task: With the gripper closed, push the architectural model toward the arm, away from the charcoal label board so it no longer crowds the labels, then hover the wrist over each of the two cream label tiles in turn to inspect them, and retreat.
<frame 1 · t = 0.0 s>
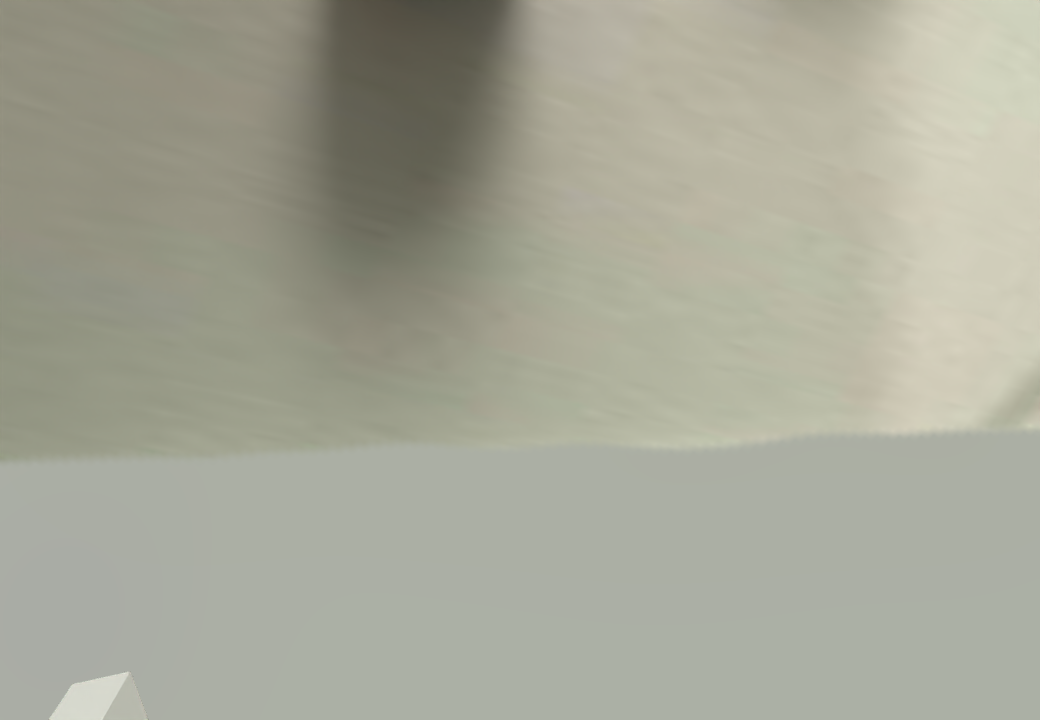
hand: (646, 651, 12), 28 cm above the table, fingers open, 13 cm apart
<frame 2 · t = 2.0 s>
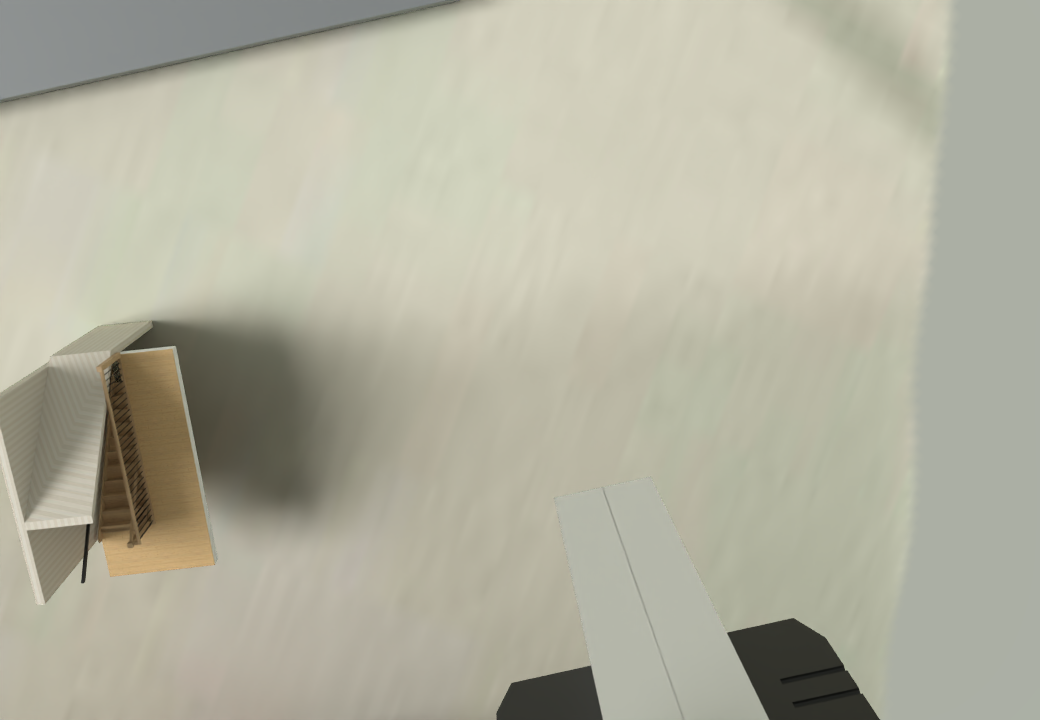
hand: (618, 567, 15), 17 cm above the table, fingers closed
architectural model: (146, 404, 31), on the table
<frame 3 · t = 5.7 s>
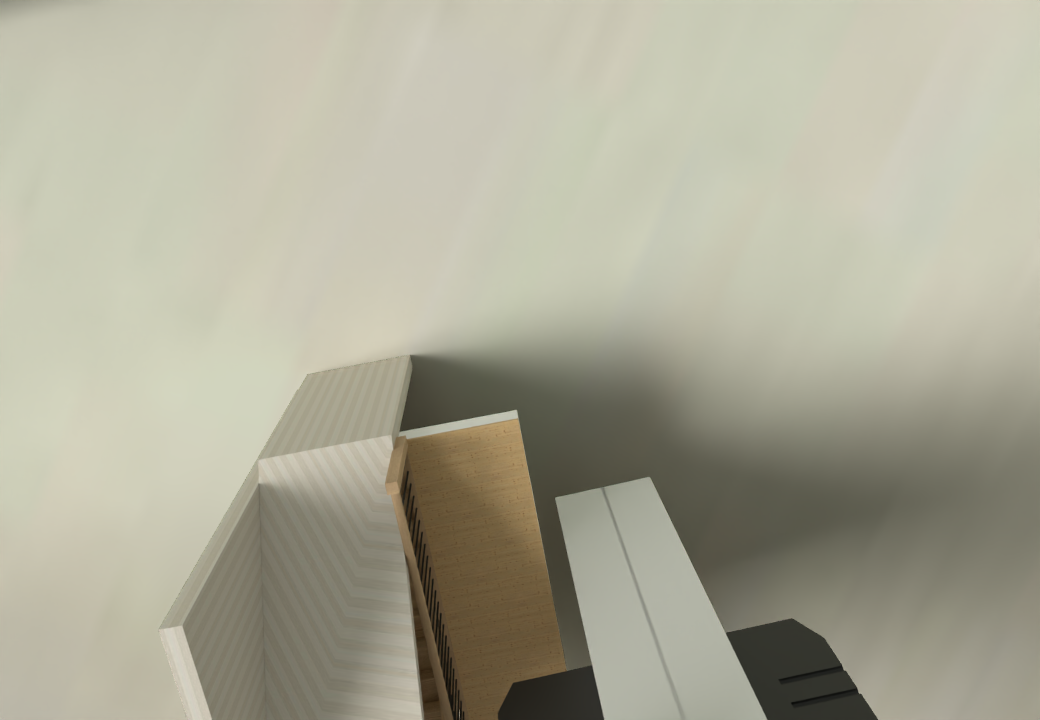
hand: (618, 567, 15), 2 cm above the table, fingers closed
architectural model: (396, 511, 17), on the table
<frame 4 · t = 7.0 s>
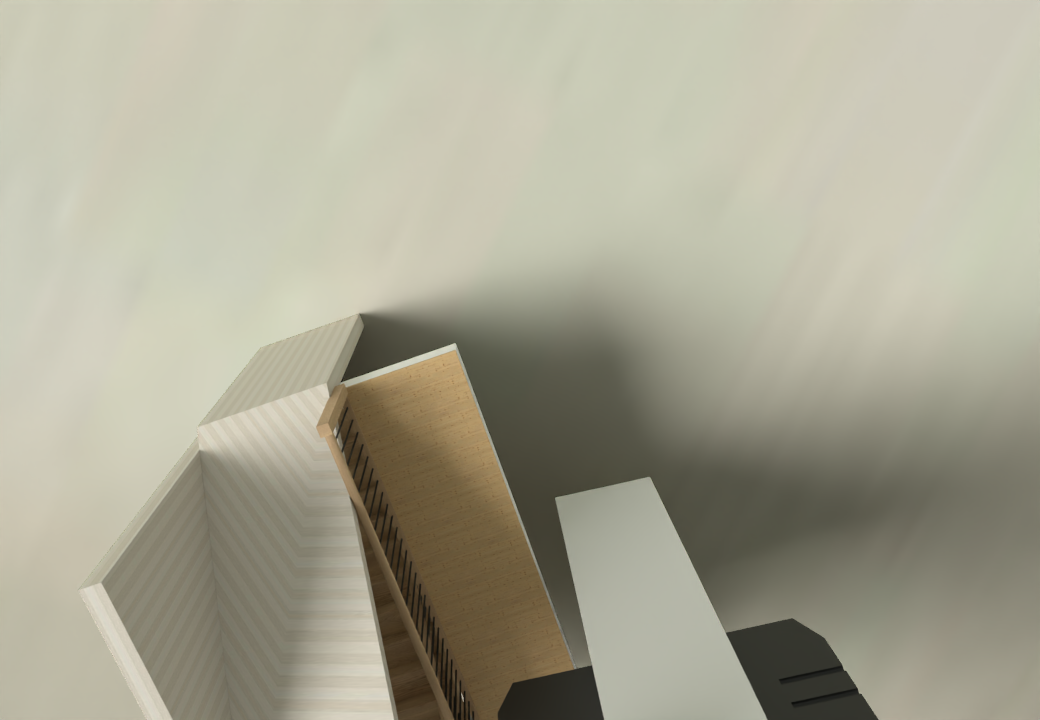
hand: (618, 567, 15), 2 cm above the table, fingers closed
architectural model: (374, 478, 16), on the table
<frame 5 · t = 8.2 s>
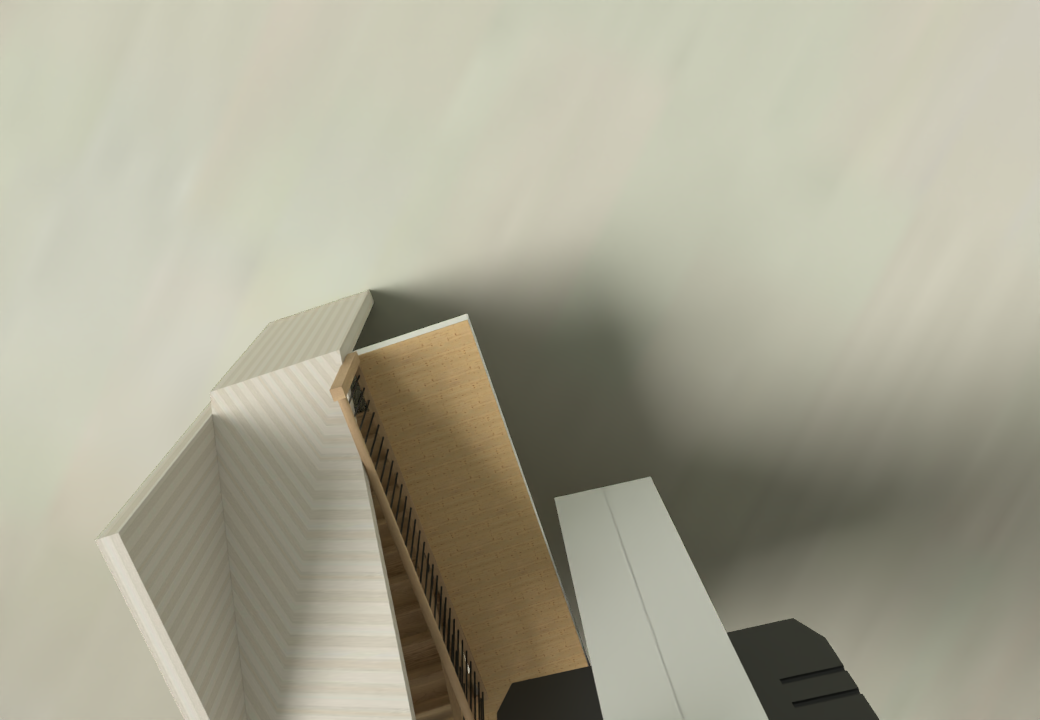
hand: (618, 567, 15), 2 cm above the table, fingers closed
architectural model: (382, 453, 16), on the table
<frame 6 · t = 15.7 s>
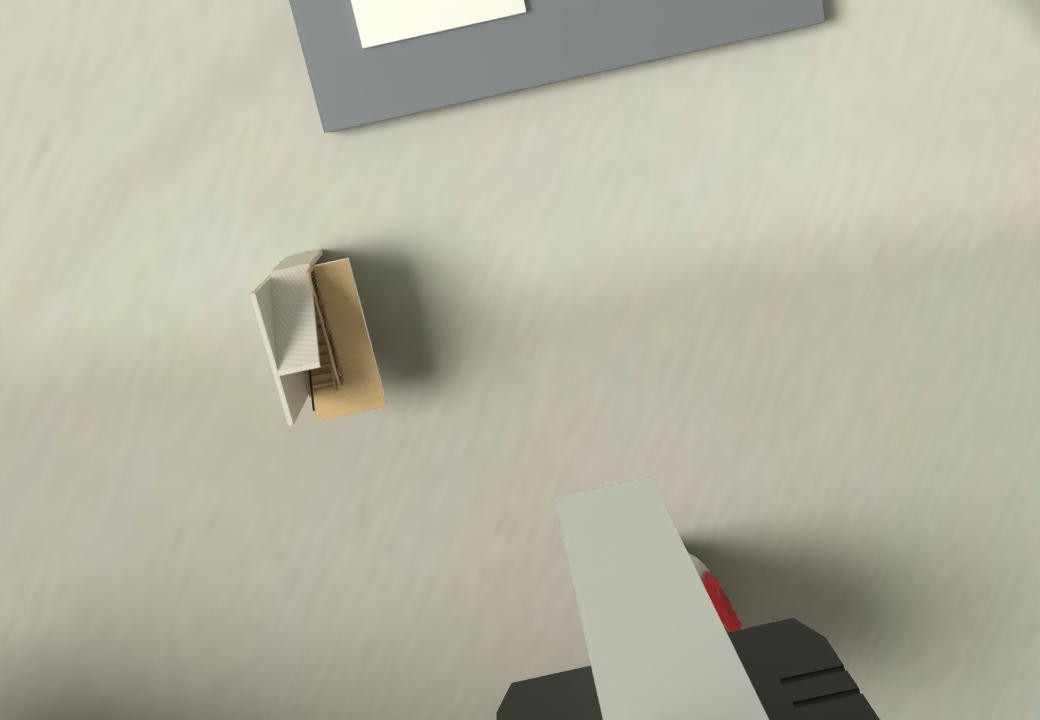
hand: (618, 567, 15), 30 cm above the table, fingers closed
soda can: (650, 596, 49), on the table
architectural model: (320, 310, 45), on the table
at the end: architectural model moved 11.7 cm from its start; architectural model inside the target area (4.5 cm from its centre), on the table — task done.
